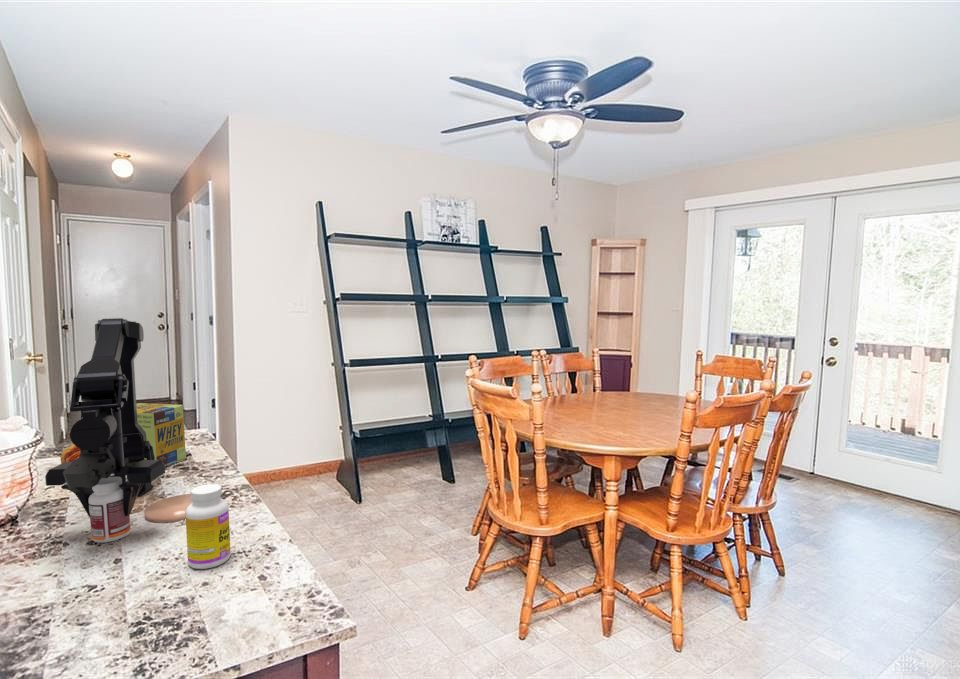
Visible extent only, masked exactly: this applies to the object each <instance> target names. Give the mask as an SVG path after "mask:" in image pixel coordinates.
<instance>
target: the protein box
mask: <svg viewBox="0 0 960 679" xmlns="http://www.w3.org/2000/svg"><path fill="white" fill-rule="evenodd" d="M136 407H137V422H138V424H139V425H140V426H141V427H142V429H143V430H144V431H145V432H146V438H147V441H149V442H150V445H151V446H152V447H153V451H154V456H155V460H161V461H162V462H163V463H164V465H165V469H167V468H168V467H170V466H173V465H175V463H176V464H178V463H180V461H181V462H182V460H183V461H186V460H187V451H186V450H187V449H186V435H185V420H184V405H183V404H169V403H168V404H167V403H166V404H165V403H144V402H143V403H142V402H139V403H137V402H136ZM144 459H146V458H144ZM185 459H186V460H185Z"/></svg>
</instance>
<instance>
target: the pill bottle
mask: <svg viewBox="0 0 960 679" xmlns="http://www.w3.org/2000/svg"><path fill="white" fill-rule="evenodd" d="M121 484H122V478H121V477H108V478H101V479H100V480H99V483H98V484H97V485H96V486H94V487H92V490H93V491H94V493H92V494H91V495H90V497H89V512H90V517H89V522H90V533H91V540H92V541H93V542H95V543H98V544H102V543H103V544H104V543H109V542H114V541H118V540H121V539H123V538H125V537H127V536H128V535H129V534H130V532H131V518H130V517H131V514H130V515H129V516H125V513H124V503H123V491H122V490H121V488H120V487H119V485H121Z"/></svg>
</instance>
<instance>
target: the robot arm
mask: <svg viewBox="0 0 960 679" xmlns="http://www.w3.org/2000/svg"><path fill="white" fill-rule="evenodd" d="M94 341H95V344H94V348H93V351H92V356H91V358H90V360H89V361H86V363H83V364H82V365H81V366H80V368H79V370H78V373H77V374H76V375H77V376H75V377H74V378H73V381H72V389H71V398H70V408H69V410H70V413H71V412H80V418H79V419H78V420H76V422H75V423H74V424H73V425H72V427H71V428H70V432H69V438H70V441H71V443H72V445H73V444H74V445H75V446H76V447H78V448H80V456H79V458H77V459H76V460H74V461H73V462H65V463H62V464H61V463H60V464H58V465H56V466H54V467H52V468H49V469H48V470H47V472H46V474H45V476H44V481H45V485H46V486H47V487H49V486H51V487H53V486H60V488H61V489H62V490H67V491H69V492H72V493H73V494H74V495H75V496H76V498H78V500H79V502H80V503H81V505H82V508H83V509H84V511H85V513H87V516H88V517H89V518H90V512H89V497H90V495H91V494H92V493H94V491H93V490H92V487H94V486H96V485H97V484H98V483H99V480H100V479H101V478H108V477H121V478H122V484H121V485H119V487H120V488H121V490H122V491H123V503H124V513H125V516H129V515H130V516H131V514H132V511H133V508H134V505H135V503H136V501H137V499H138V497H141V496H143V495H144V494H145V493H147V492H148V491H150V490H151V489H153V488H154V484H152V482H153V481H154V480H156V479H157V478H159V477H161V476H162V475H164V474H165V473H166V468H165V465H164V463H163V462H162V461H161V460H155V456H154V451H153V447H152V446H151V445H150V442H149V441H147V438H146V432H145V431H144V430H143V429H142V427H141V426H140V425H139V424H138V422H137V407H136V404H137V392H136V377H135V358H136V357H137V355H138V354H139V352H140V351H141V348H142V342H144V328H143V325H142V324H141V323H140V322H137V321H131V320H128V319H124V318H123V317H122V318H118V317H116V318H102V319H98V320H97V323H95V324H94ZM80 399H81V400H80ZM144 458H146V459H144Z"/></svg>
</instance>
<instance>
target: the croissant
mask: <svg viewBox="0 0 960 679" xmlns="http://www.w3.org/2000/svg"><path fill="white" fill-rule="evenodd" d="M79 456H80V448H78V447H76V446H75V445H74V444H73V443H72V444H71V445H70V446H68V447H66V448H63V450H62V453H61V454H60V464H62V463H65V462H73V461H74V460H76V459H77V458H79Z"/></svg>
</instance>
